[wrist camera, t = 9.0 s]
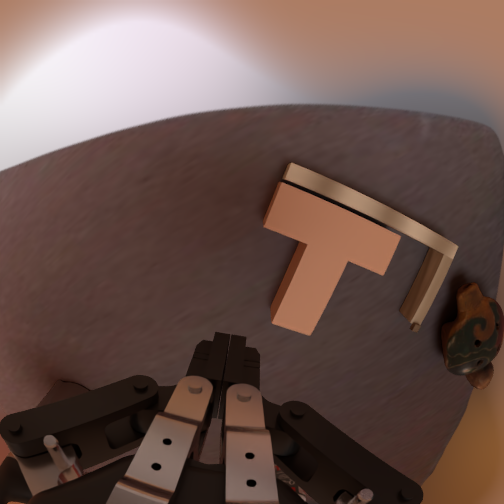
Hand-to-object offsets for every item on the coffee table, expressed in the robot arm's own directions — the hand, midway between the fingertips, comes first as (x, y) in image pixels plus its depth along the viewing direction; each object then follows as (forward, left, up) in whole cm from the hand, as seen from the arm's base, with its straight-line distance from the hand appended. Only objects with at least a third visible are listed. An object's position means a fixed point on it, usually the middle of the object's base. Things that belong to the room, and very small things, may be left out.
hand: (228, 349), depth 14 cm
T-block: (+6, +2, -16) cm, 17 cm away
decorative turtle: (+30, +2, -16) cm, 34 cm away
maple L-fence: (+10, +5, -15) cm, 19 cm away
